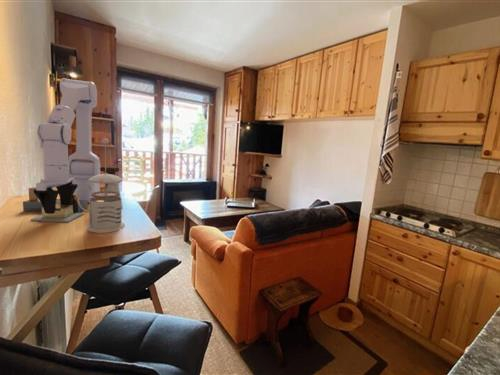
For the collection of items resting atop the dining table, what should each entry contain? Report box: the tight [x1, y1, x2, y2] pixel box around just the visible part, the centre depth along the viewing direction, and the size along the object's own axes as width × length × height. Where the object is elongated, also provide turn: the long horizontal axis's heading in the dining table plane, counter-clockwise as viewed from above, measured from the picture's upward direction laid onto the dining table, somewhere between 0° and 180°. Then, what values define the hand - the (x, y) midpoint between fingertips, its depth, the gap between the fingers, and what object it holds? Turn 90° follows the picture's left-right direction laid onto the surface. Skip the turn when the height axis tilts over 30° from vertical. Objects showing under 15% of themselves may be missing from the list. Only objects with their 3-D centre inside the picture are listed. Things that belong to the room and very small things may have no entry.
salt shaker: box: [102, 175, 123, 218], centre depth 81 cm, size 6×6×13 cm
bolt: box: [100, 165, 120, 190], centre depth 88 cm, size 6×5×15 cm
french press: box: [77, 138, 126, 234], centre depth 69 cm, size 10×12×25 cm
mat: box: [30, 212, 84, 223], centre depth 75 cm, size 8×10×1 cm
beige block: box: [41, 204, 73, 219], centre depth 75 cm, size 4×6×3 cm
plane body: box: [22, 186, 89, 213], centre depth 82 cm, size 6×16×7 cm, turn 97°
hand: (58, 209), depth 75 cm, fingers open, 7 cm apart
